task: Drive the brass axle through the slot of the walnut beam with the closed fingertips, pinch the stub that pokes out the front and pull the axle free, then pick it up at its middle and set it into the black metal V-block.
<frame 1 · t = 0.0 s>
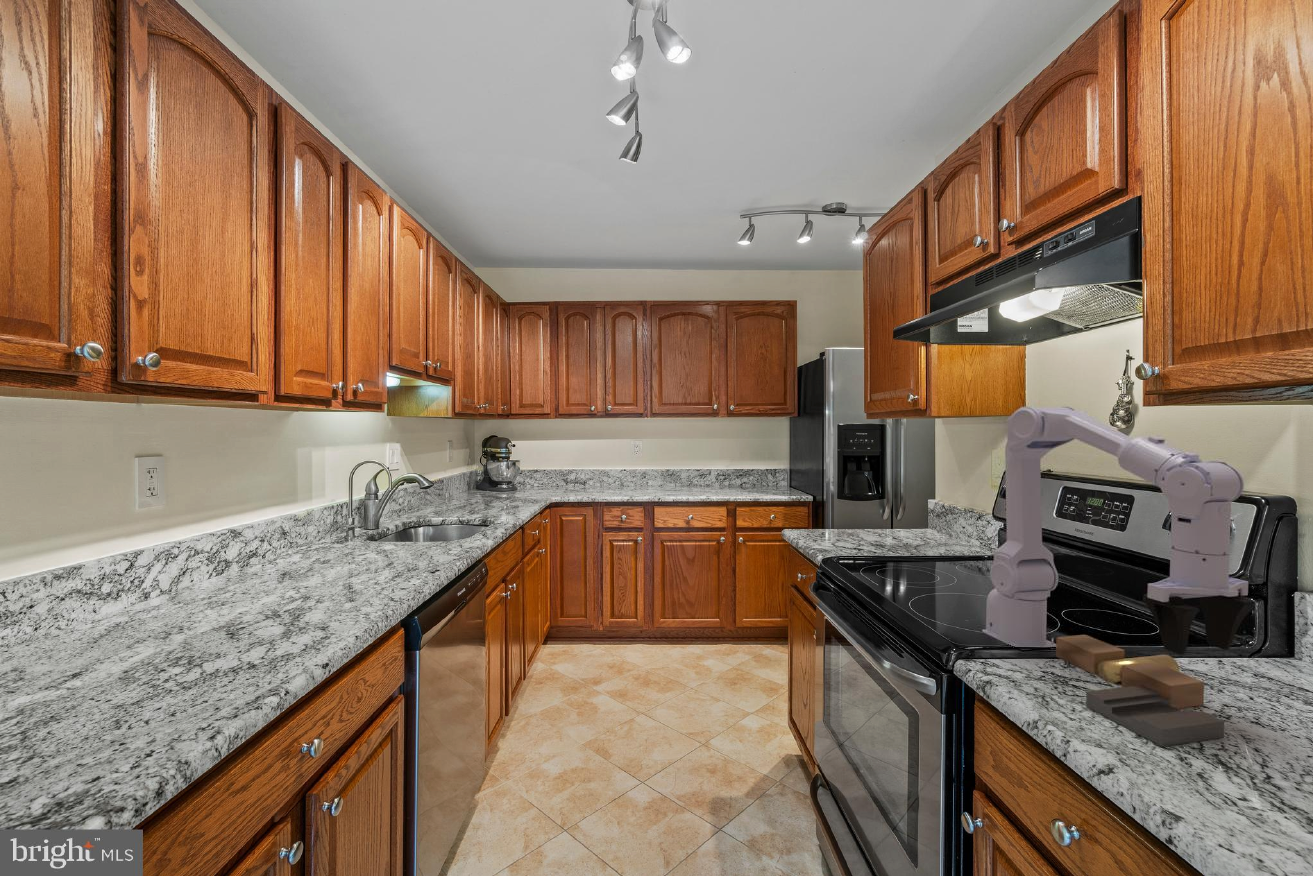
hand: (1196, 649, 75), 10 cm above the worktop, fingers open, 7 cm apart
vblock: (1151, 721, 76), on the worktop
beam: (1122, 678, 88), on the worktop
axle: (1138, 678, 89), on the worktop
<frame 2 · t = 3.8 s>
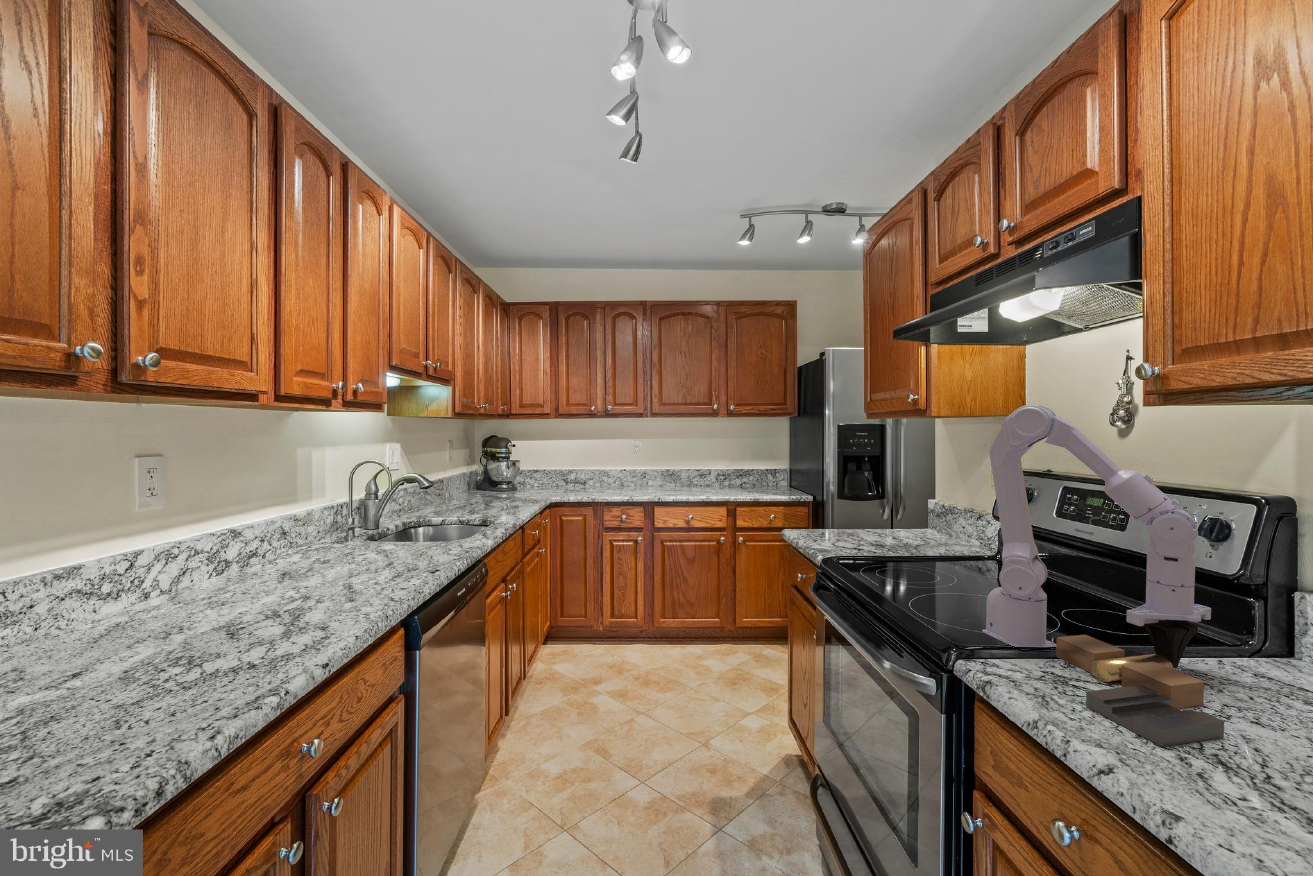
hand: (1167, 665, 90), 1 cm above the worktop, fingers closed
axle: (1131, 677, 88), on the worktop, touching gripper
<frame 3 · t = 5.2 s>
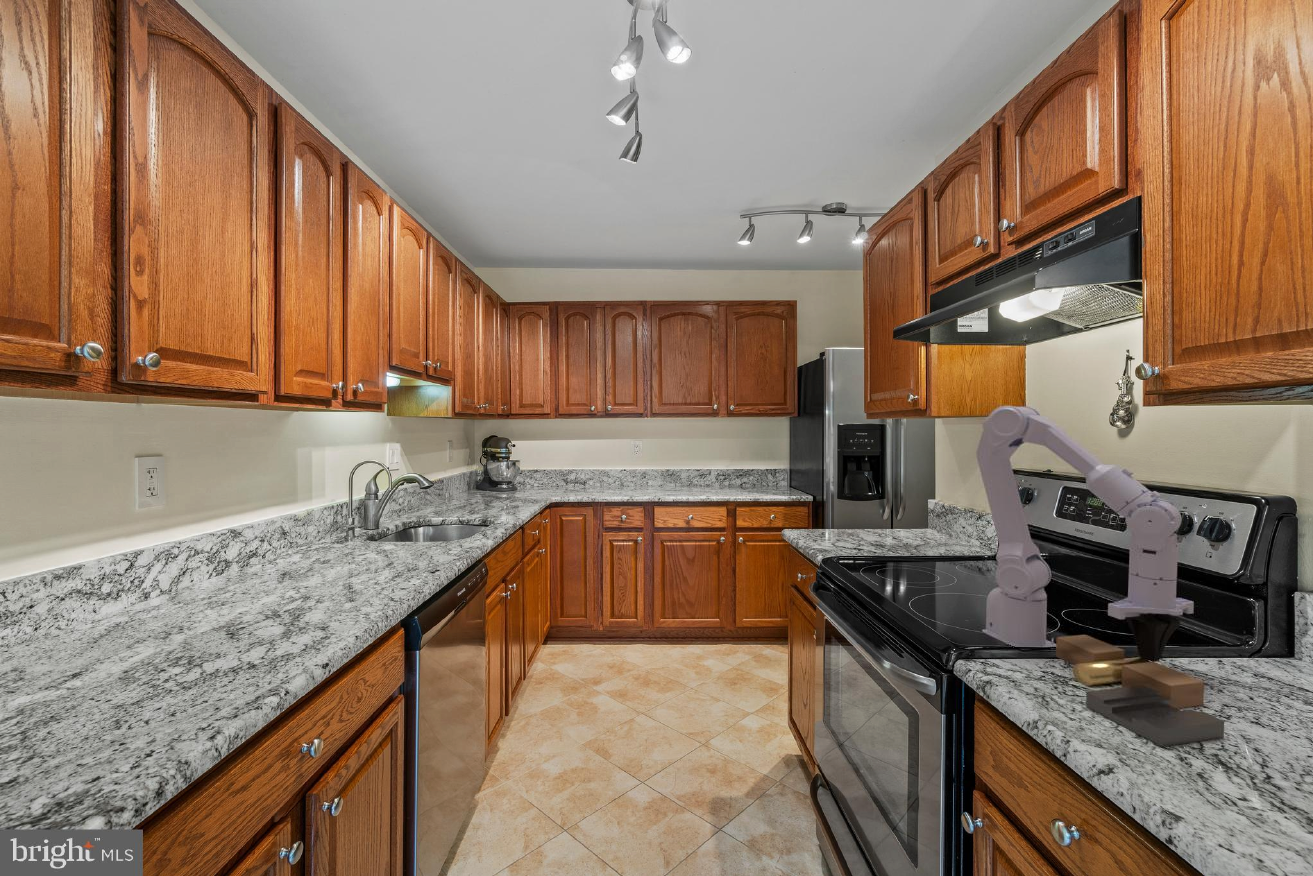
hand: (1149, 659, 89), 3 cm above the worktop, fingers closed
axle: (1113, 681, 88), on the worktop
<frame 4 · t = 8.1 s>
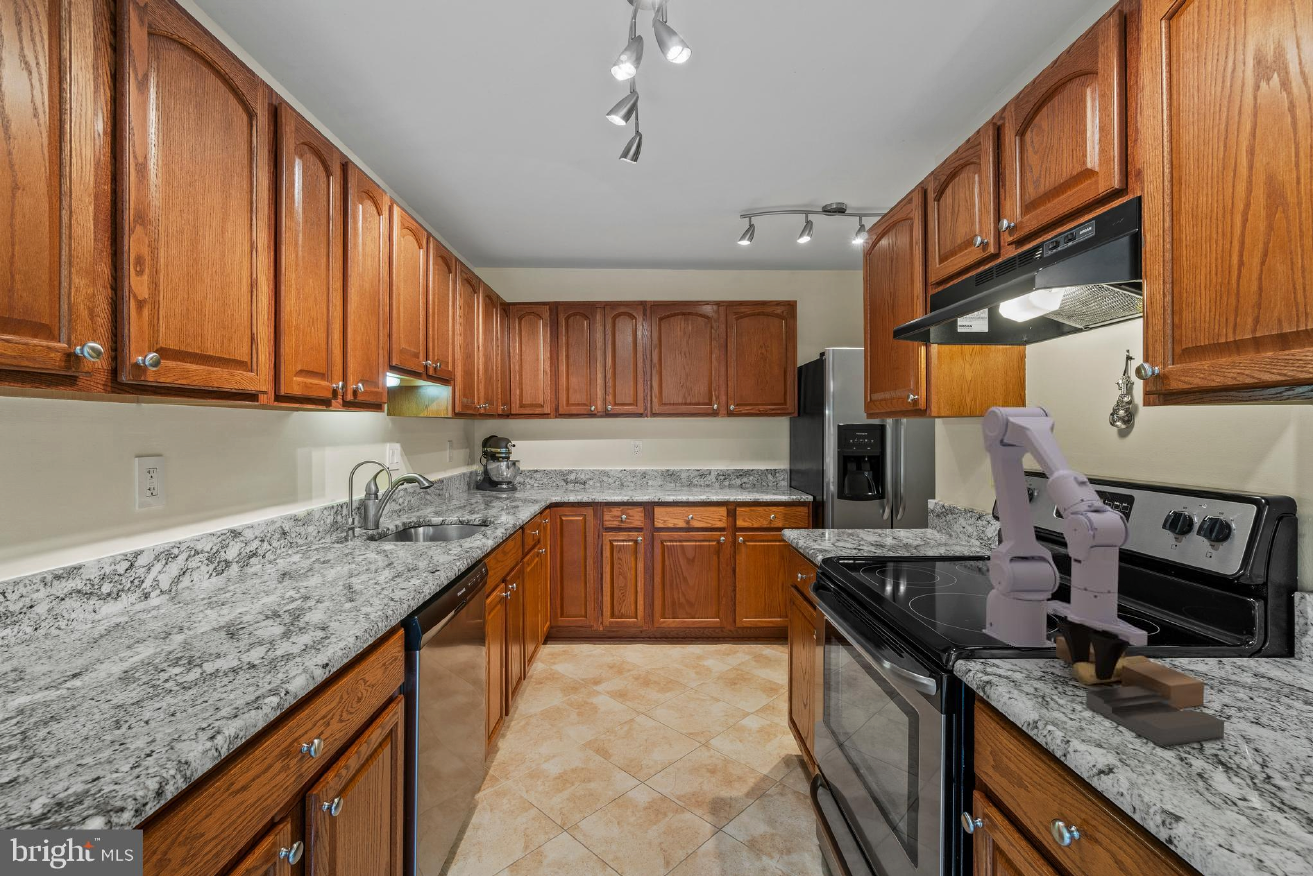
hand: (1091, 673, 87), 1 cm above the worktop, fingers closed on axle, 3 cm apart
axle: (1113, 679, 88), on the worktop, touching gripper
when the fingers open (1 cm above the worktop, at t = 10.4 s): axle stays where it is, on the worktop.
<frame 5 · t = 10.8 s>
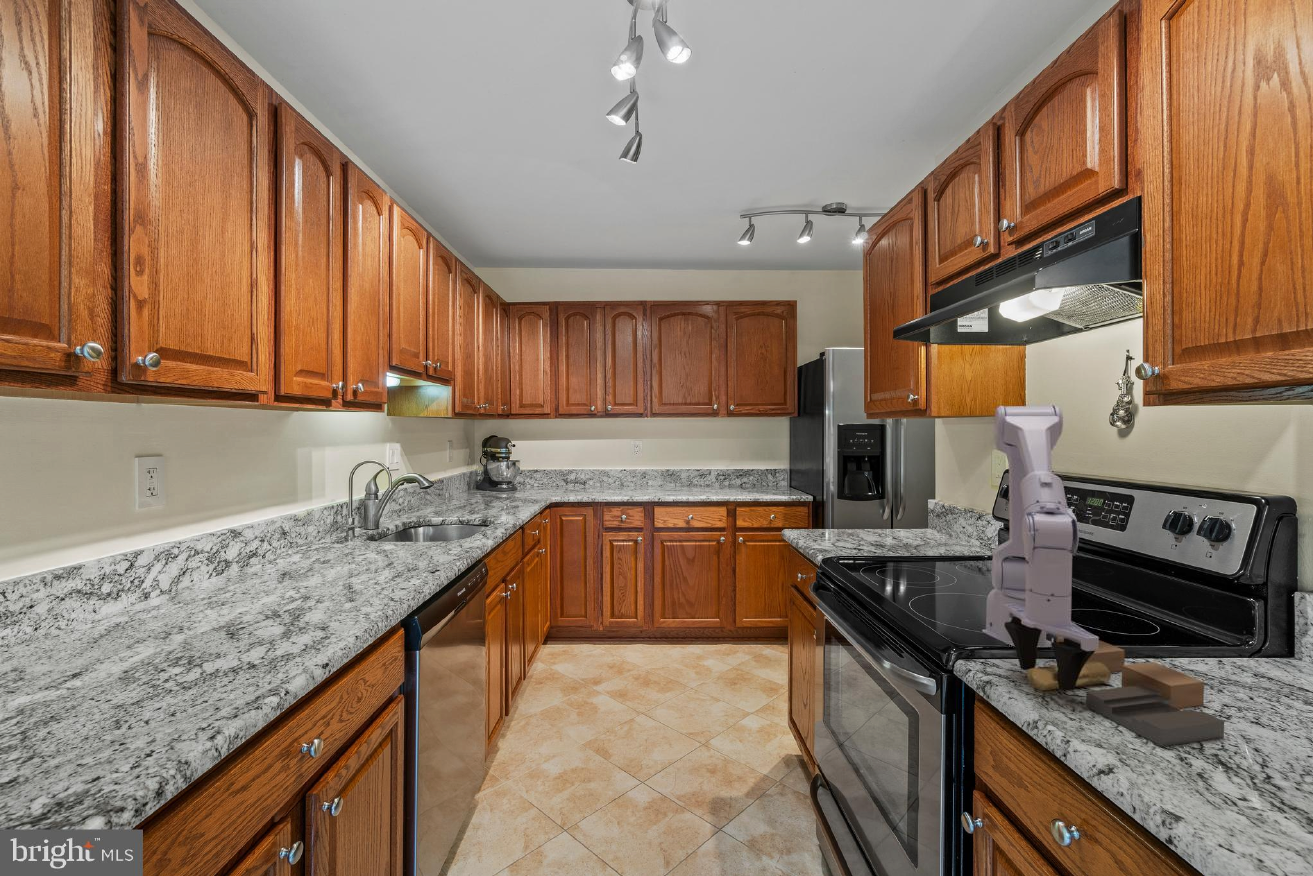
hand: (1046, 678, 85), 1 cm above the worktop, fingers open, 6 cm apart
axle: (1069, 686, 86), on the worktop
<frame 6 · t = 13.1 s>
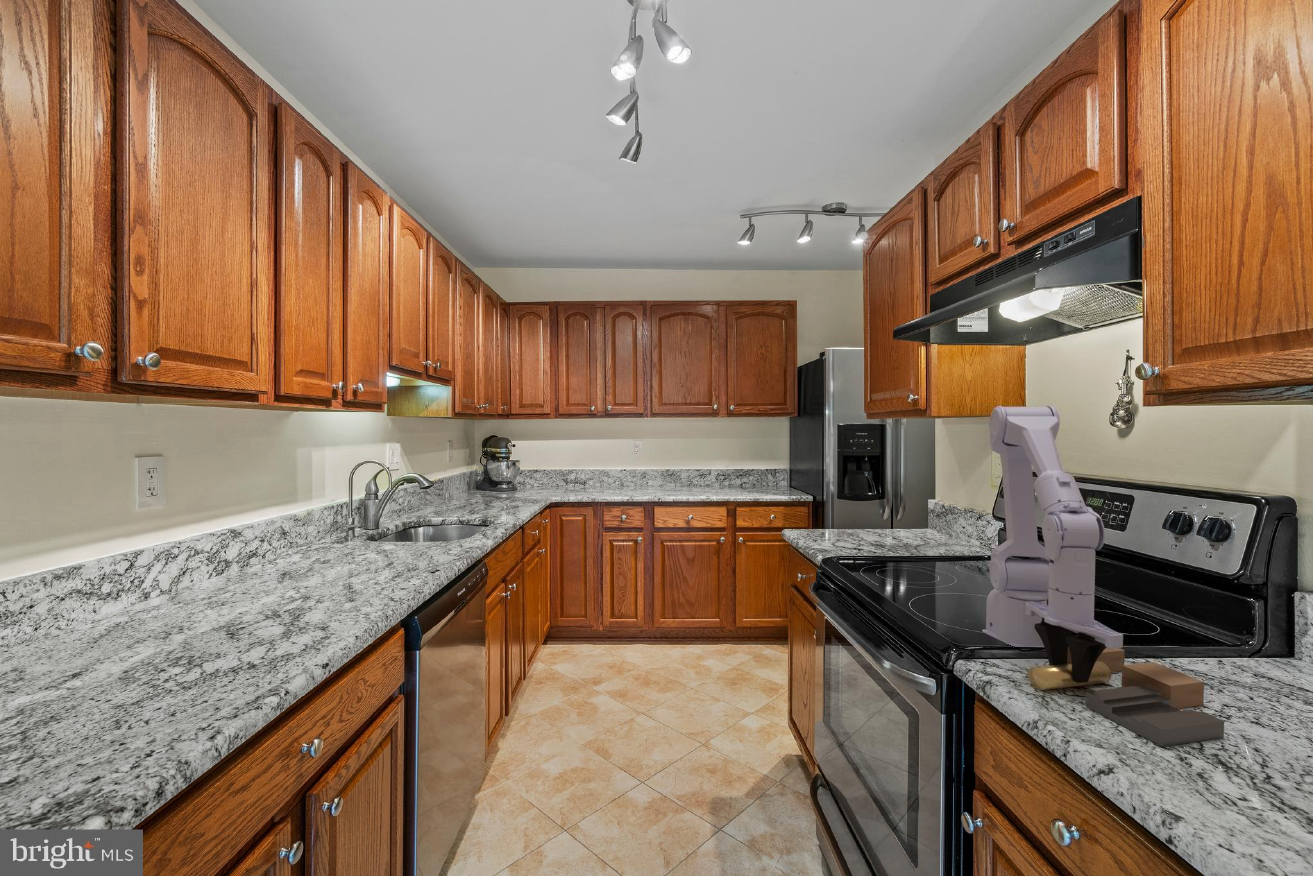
hand: (1069, 675, 86), 1 cm above the worktop, fingers closed on axle, 3 cm apart
axle: (1069, 685, 86), on the worktop, touching gripper
when the fingers open (4 cm above the worktop, at t = 16.3 s): axle drops 1 cm, resting on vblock.
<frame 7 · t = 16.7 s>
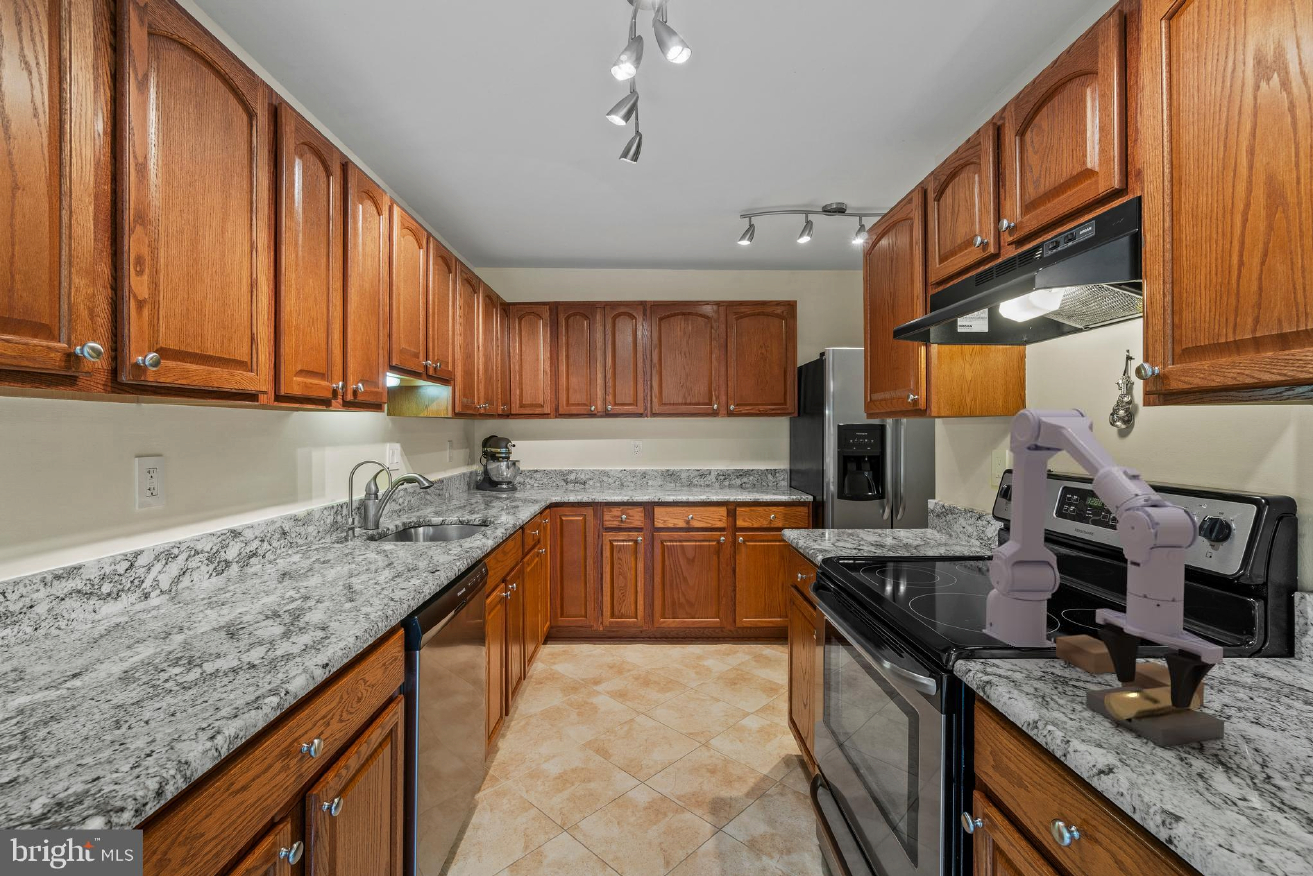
hand: (1152, 693, 75), 4 cm above the worktop, fingers open, 6 cm apart
axle: (1152, 713, 75), point 1 cm above the worktop, touching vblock
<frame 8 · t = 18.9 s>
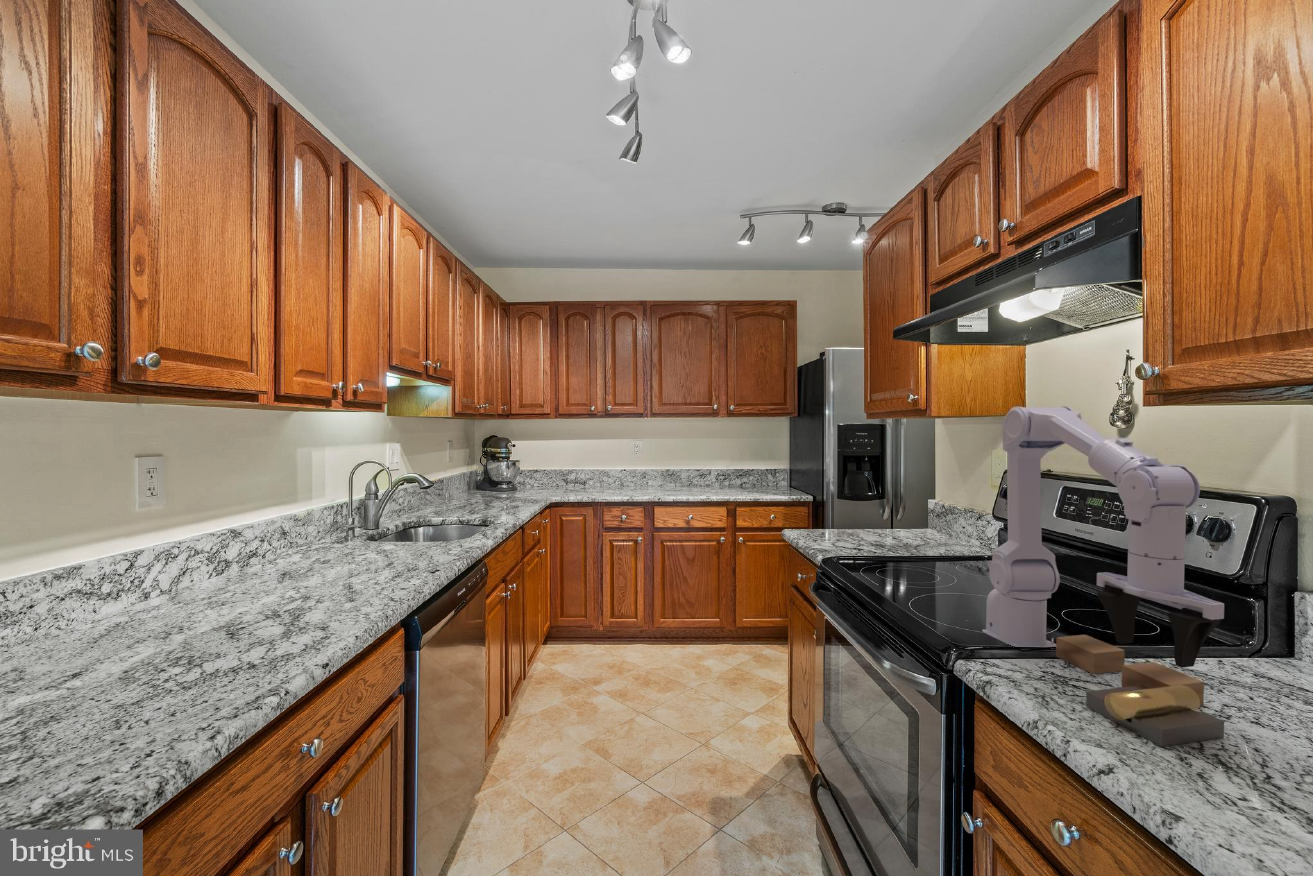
hand: (1153, 653, 75), 9 cm above the worktop, fingers open, 7 cm apart
nothing on the worktop moved.
at the end: axle 0.1 cm off-centre on the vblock, point 1.1 cm above the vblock's base; axle touching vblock; the gripper is holding nothing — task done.
